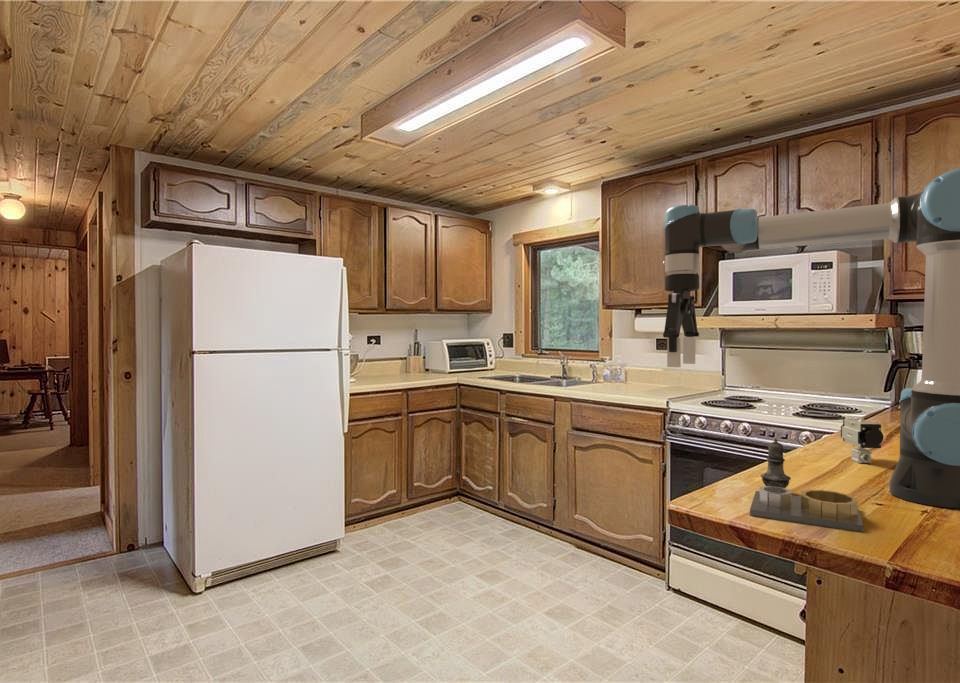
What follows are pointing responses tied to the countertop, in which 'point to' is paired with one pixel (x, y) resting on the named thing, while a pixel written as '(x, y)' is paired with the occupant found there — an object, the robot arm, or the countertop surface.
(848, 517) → the plate
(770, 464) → the salt shaker
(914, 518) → the countertop surface
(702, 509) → the countertop surface
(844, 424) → the pneumatic valve
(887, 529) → the countertop surface
